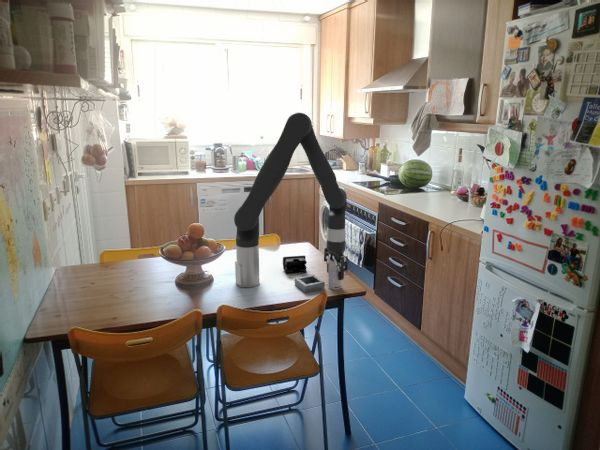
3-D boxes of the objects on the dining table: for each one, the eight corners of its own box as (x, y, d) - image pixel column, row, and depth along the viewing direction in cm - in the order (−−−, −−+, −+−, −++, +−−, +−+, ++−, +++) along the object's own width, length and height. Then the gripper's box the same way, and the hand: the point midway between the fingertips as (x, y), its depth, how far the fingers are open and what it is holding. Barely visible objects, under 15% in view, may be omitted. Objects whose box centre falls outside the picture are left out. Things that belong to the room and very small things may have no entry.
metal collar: (305, 293, 177) (305, 286, 177) (294, 285, 185) (294, 278, 184) (324, 288, 182) (324, 282, 181) (313, 281, 189) (313, 274, 188)
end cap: (303, 267, 205) (304, 253, 203) (307, 273, 199) (307, 258, 197) (282, 269, 203) (282, 255, 201) (285, 274, 197) (285, 260, 195)
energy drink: (343, 286, 184) (344, 259, 181) (337, 290, 180) (338, 263, 176) (331, 283, 187) (332, 256, 183) (325, 288, 182) (326, 260, 179)
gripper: (318, 235, 182) (318, 272, 186) (337, 244, 170) (336, 283, 174) (334, 232, 185) (333, 269, 190) (354, 241, 173) (352, 280, 178)
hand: (335, 276), depth 182 cm, fingers open, 8 cm apart
